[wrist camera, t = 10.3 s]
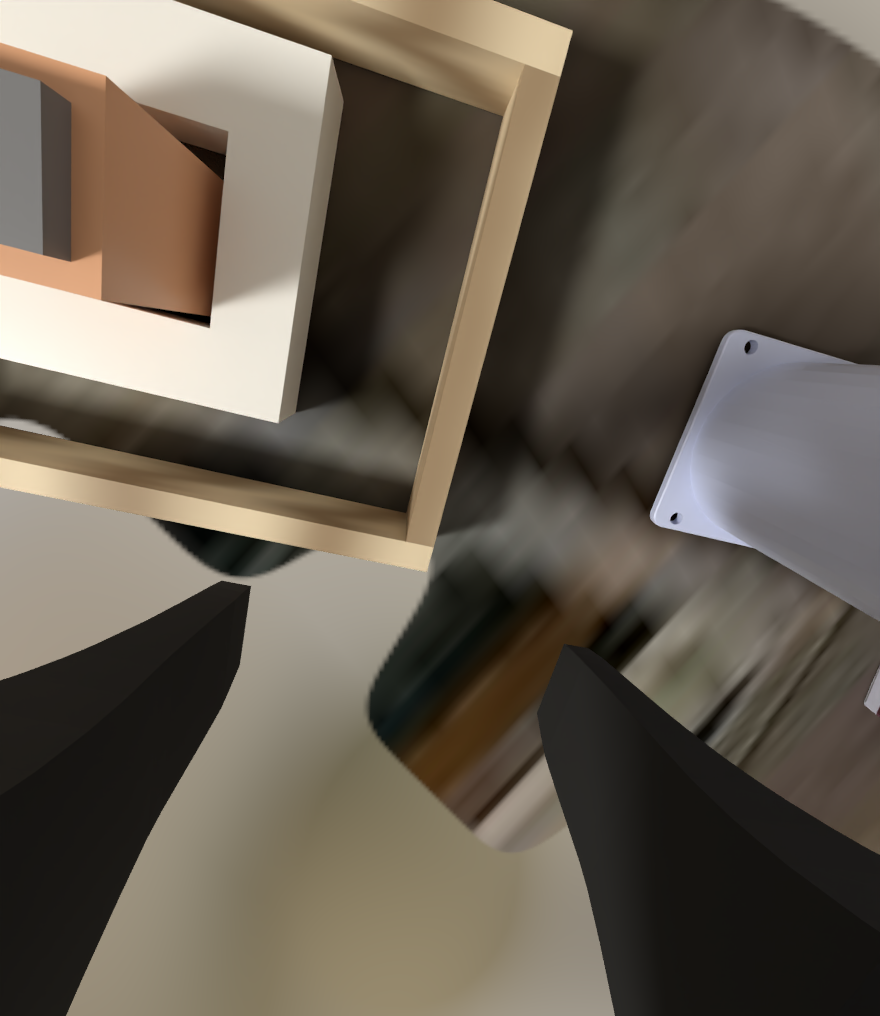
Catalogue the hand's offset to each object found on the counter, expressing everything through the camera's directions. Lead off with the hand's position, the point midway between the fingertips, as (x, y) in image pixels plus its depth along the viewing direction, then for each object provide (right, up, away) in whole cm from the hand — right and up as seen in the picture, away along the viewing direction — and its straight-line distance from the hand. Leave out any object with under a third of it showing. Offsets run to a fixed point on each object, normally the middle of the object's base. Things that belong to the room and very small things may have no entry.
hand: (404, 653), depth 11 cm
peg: (-8, +12, +5) cm, 16 cm away
